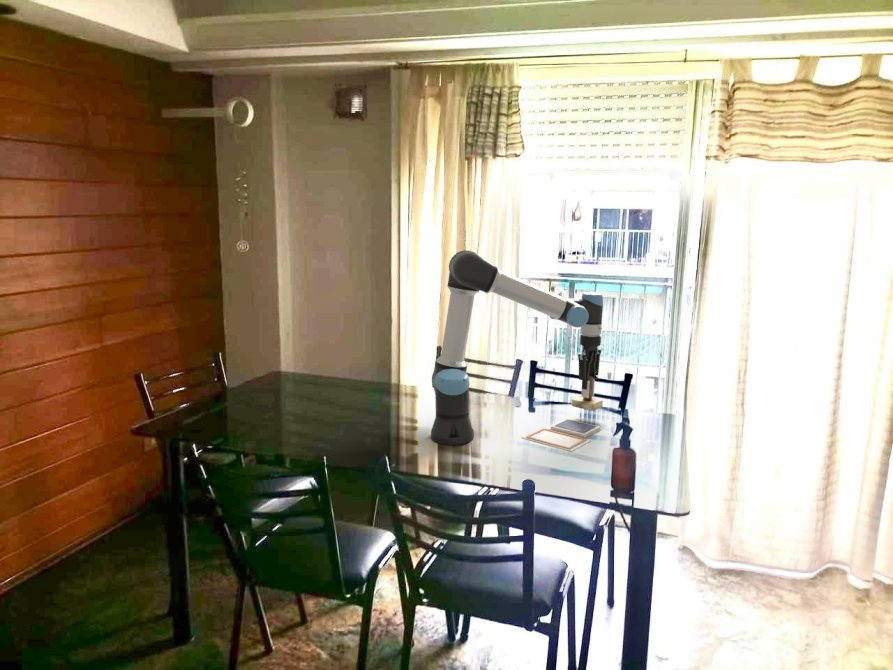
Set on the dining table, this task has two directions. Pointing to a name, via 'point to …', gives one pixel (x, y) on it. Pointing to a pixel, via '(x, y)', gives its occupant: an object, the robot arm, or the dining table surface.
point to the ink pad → (575, 428)
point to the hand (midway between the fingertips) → (587, 395)
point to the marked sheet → (556, 439)
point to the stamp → (588, 400)
